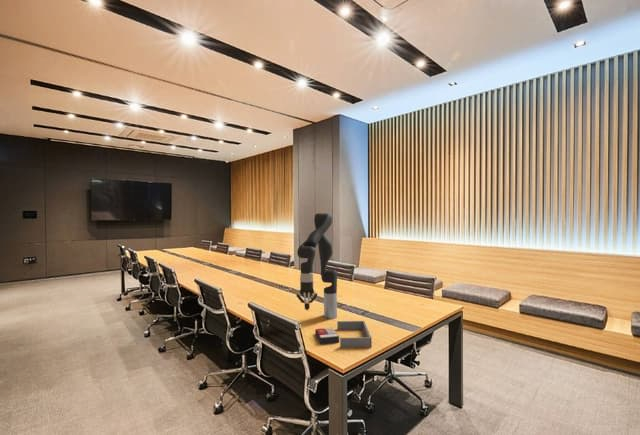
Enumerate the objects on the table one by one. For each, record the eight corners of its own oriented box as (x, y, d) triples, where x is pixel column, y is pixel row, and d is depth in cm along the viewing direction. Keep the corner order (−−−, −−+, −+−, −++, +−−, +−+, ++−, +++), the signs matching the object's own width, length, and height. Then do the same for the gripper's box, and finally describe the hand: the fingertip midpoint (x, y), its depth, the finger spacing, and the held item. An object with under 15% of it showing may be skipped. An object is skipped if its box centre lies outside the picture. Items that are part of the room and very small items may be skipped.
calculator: (332, 326, 184) (339, 335, 170) (332, 333, 184) (339, 342, 169) (315, 328, 182) (320, 337, 167) (315, 335, 182) (320, 344, 167)
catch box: (337, 329, 189) (337, 321, 189) (364, 328, 189) (364, 320, 189) (340, 347, 163) (340, 338, 163) (371, 347, 163) (371, 338, 163)
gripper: (318, 278, 179) (318, 307, 179) (295, 279, 179) (296, 307, 179) (317, 281, 172) (318, 311, 172) (294, 281, 172) (295, 311, 172)
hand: (307, 309), depth 176 cm, fingers closed
